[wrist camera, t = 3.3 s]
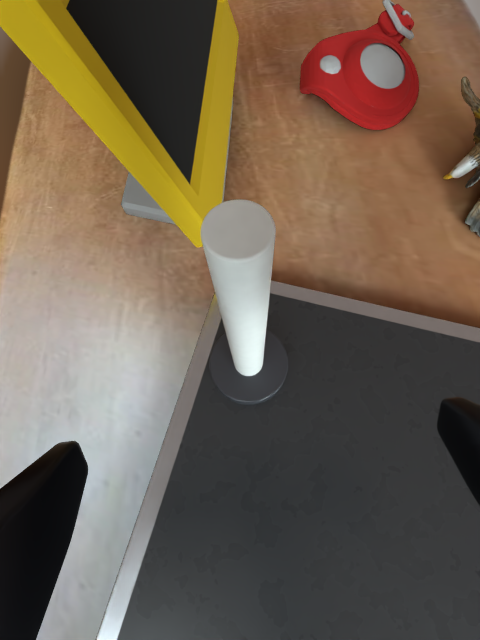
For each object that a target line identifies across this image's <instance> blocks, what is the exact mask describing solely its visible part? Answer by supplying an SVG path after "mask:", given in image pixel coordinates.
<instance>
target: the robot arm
mask: <svg viewBox="0 0 480 640" xmlns="http://www.w3.org/2000/svg"><path fill="white" fill-rule="evenodd" d="M437 430H438V433H439V435H440V437H441V439H442V441H443V443H444V444H445V446H446V448H447V450H448V452H449V454H450V455H451V457H452V459H453V461H454V463H455V465H456V466H457V468H458V470H459V472H460V474H461V475H462V477H463V479H464V481H465V483H466V485H467V486H468V488H469V490H470V491H471V493H472V495H473V496H474V498H475V499H476V501H477V502H478V504H479V505H480V405H479V404H476V403H474V402H472V401H470V400H467V399H465V398H463V397H452V398H445V399H443V400H442V401H441V404H440V409H439V415H438V420H437ZM87 475H88V465H87V462H86V460H85V457H84V455H83V452H82V450H81V448H80V445H79V443H77V442H76V441H69V442H61V443H58V444H56V445H55V446H54V447H53V448H51V449H50V450H49V451H48V452H46V453H45V454H44V455H42V456H41V457H40V458H39V459H37V460H36V461H35V462H34V463H32V464H31V465H30V466H29V467H27V468H26V469H25V470H23V471H22V472H21V473H20V474H18V475H17V476H16V477H15V478H13V479H12V480H11V481H10V482H8V483H7V484H6V485H4V486H3V487H2V488H1V489H0V640H36V638H37V635H38V632H39V629H40V627H41V624H42V621H43V618H44V615H45V612H46V610H47V607H48V604H49V601H50V598H51V596H52V593H53V590H54V587H55V584H56V581H57V579H58V576H59V573H60V570H61V567H62V565H63V562H64V559H65V556H66V553H67V550H68V547H69V544H70V541H71V538H72V534H73V531H74V527H75V523H76V519H77V515H78V511H79V507H80V503H81V499H82V495H83V491H84V487H85V483H86V479H87Z"/></svg>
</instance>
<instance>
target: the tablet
mask: <svg viewBox="0 0 480 640" xmlns="http://www.w3.org/2000/svg"><path fill="white" fill-rule="evenodd" d="M266 330H268V331H270V332H271V333H273V334H274V335H275V336H276V337H277V338H278V339H279V340H280V341H281V343H282V344H283V346H284V348H285V350H286V353H287V357H288V371H287V375H286V378H285V380H284V382H283V385H282V386H281V388H280V390H279V391H278V392H277V393H276V394H275V395H274V396H273V397H272V398H270V399H269V400H267V401H265V402H262V403H259V404H254V405H244V404H239V403H236V402H233V401H232V400H230V399H228V398H227V397H225V396H224V395H223V394H222V393H221V392H220V390H219V389H218V388H217V386H216V385H215V383H214V381H213V379H212V376H211V373H210V364H209V362H210V356H211V352H212V349H213V347H214V345H215V344H216V342H217V341H218V339H219V338H220V337H221V336H222V335H224V334H225V333H226V331H225V327H224V324H223V320H222V316H221V312H220V308H219V305H218V301H217V297H216V293H215V292H214V295H213V298H212V301H211V304H210V307H209V310H208V313H207V316H206V318H205V321H204V324H203V327H202V330H201V333H200V336H199V339H198V342H197V345H196V348H195V351H194V353H193V356H192V359H191V362H190V365H189V368H188V371H187V374H186V377H185V380H184V383H183V386H182V388H181V391H180V394H179V397H178V400H177V403H176V406H175V409H174V412H173V415H172V418H171V421H170V423H169V426H168V429H167V432H166V435H165V438H164V441H163V444H162V447H161V450H160V453H159V456H158V458H157V461H156V464H155V467H154V470H153V473H152V476H151V479H150V482H149V485H148V488H147V491H146V493H145V496H144V499H143V502H142V505H141V508H140V511H139V514H138V517H137V520H136V523H135V526H134V528H133V531H132V534H131V537H130V540H129V543H128V546H127V549H126V552H125V555H124V558H123V561H122V563H121V566H120V569H119V572H118V575H117V578H116V581H115V584H114V587H113V590H112V593H111V596H110V598H109V601H108V604H107V607H106V610H105V613H104V616H103V619H102V622H101V625H100V628H99V631H98V633H97V636H96V639H95V640H480V505H479V504H478V502H477V501H476V499H475V498H474V496H473V495H472V493H471V491H470V490H469V488H468V486H467V485H466V483H465V481H464V479H463V477H462V475H461V474H460V472H459V470H458V468H457V466H456V465H455V463H454V461H453V459H452V457H451V455H450V454H449V452H448V450H447V448H446V446H445V444H444V443H443V441H442V439H441V437H440V435H439V433H438V430H437V420H438V415H439V409H440V404H441V401H442V400H443V399H445V398H452V397H463V398H465V399H467V400H470V401H472V402H474V403H476V404H479V405H480V328H477V327H472V326H468V325H464V324H459V323H455V322H451V321H446V320H442V319H437V318H433V317H429V316H424V315H420V314H416V313H411V312H407V311H403V310H398V309H394V308H390V307H385V306H381V305H377V304H372V303H368V302H364V301H359V300H355V299H351V298H346V297H342V296H337V295H333V294H329V293H324V292H320V291H316V290H311V289H307V288H303V287H298V286H294V285H290V284H285V283H281V282H277V281H272V280H271V285H270V296H269V306H268V316H267V327H266Z"/></svg>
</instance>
